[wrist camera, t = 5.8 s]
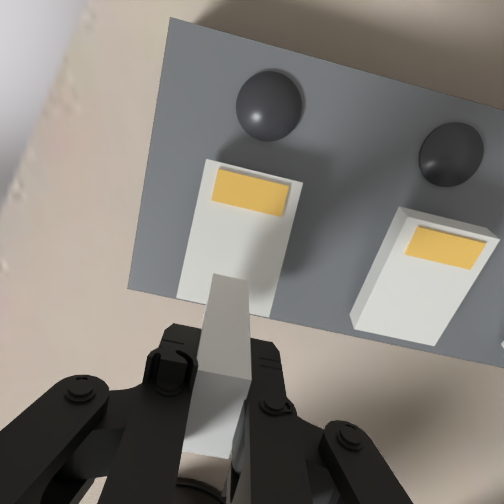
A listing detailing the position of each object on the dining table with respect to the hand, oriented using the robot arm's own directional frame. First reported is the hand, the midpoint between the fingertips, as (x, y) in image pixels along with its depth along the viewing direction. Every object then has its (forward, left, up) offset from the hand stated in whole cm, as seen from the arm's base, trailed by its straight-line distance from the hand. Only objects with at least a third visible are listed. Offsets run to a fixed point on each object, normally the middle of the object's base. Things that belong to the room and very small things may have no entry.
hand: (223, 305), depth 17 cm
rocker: (0, -2, -3) cm, 3 cm away
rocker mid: (-9, -2, -3) cm, 10 cm away
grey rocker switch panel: (-9, -4, -8) cm, 13 cm away
